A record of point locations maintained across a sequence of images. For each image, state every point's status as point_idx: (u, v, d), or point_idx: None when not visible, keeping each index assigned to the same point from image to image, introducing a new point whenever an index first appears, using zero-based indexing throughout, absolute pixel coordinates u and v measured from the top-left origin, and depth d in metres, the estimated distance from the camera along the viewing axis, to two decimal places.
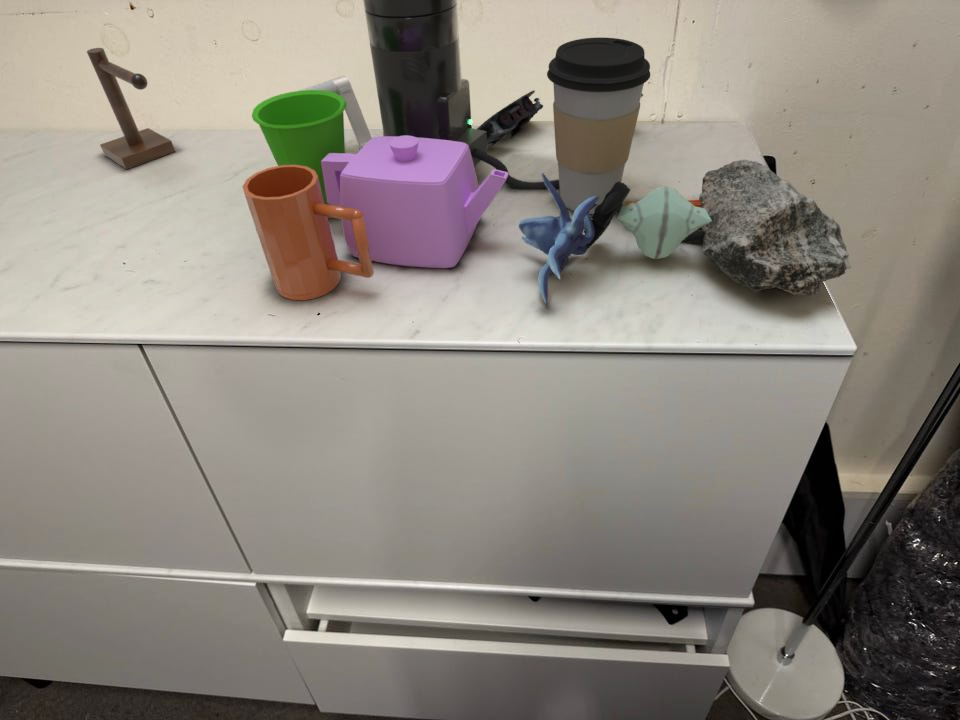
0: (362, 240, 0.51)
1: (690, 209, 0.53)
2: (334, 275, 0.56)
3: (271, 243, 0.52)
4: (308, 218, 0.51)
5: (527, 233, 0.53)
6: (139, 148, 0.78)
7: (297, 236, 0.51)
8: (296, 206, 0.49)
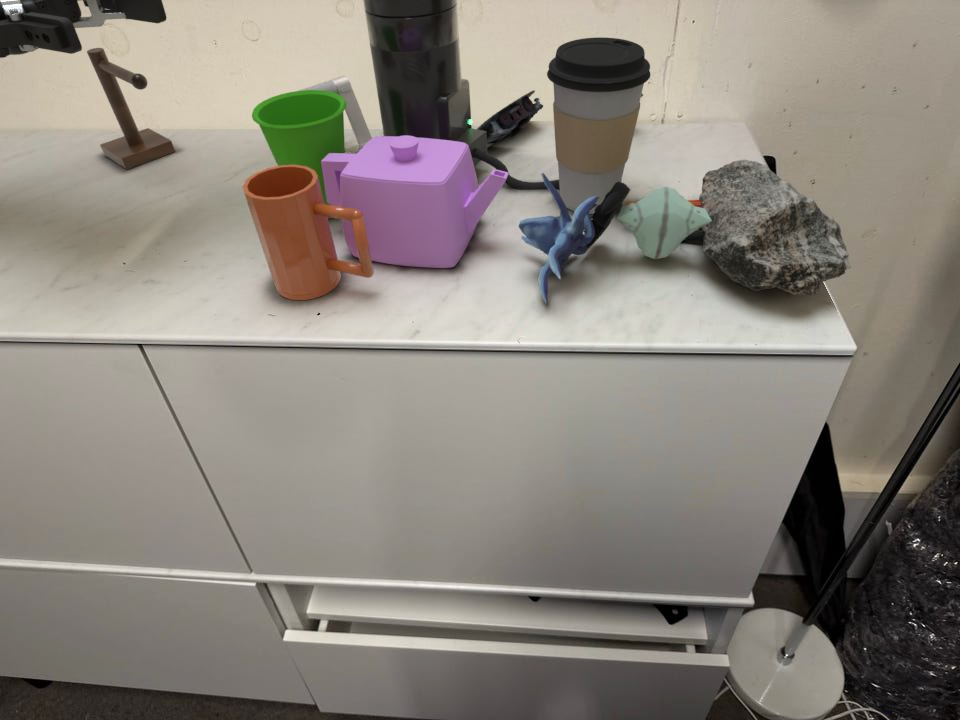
0: (362, 240, 0.51)
1: (690, 209, 0.53)
2: (334, 275, 0.56)
3: (271, 243, 0.52)
4: (308, 218, 0.51)
5: (527, 233, 0.53)
6: (139, 148, 0.78)
7: (297, 236, 0.51)
8: (296, 206, 0.49)
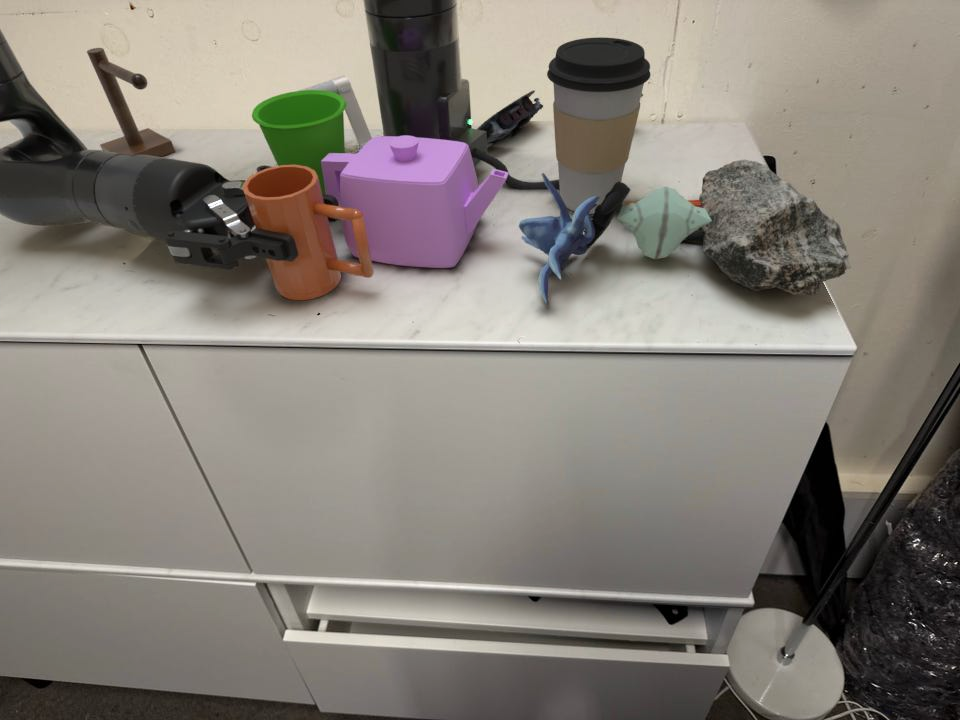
0: (362, 240, 0.51)
1: (690, 209, 0.53)
2: (334, 275, 0.56)
3: None
4: (308, 218, 0.51)
5: (527, 233, 0.53)
6: (139, 148, 0.78)
7: (297, 236, 0.51)
8: (296, 206, 0.49)
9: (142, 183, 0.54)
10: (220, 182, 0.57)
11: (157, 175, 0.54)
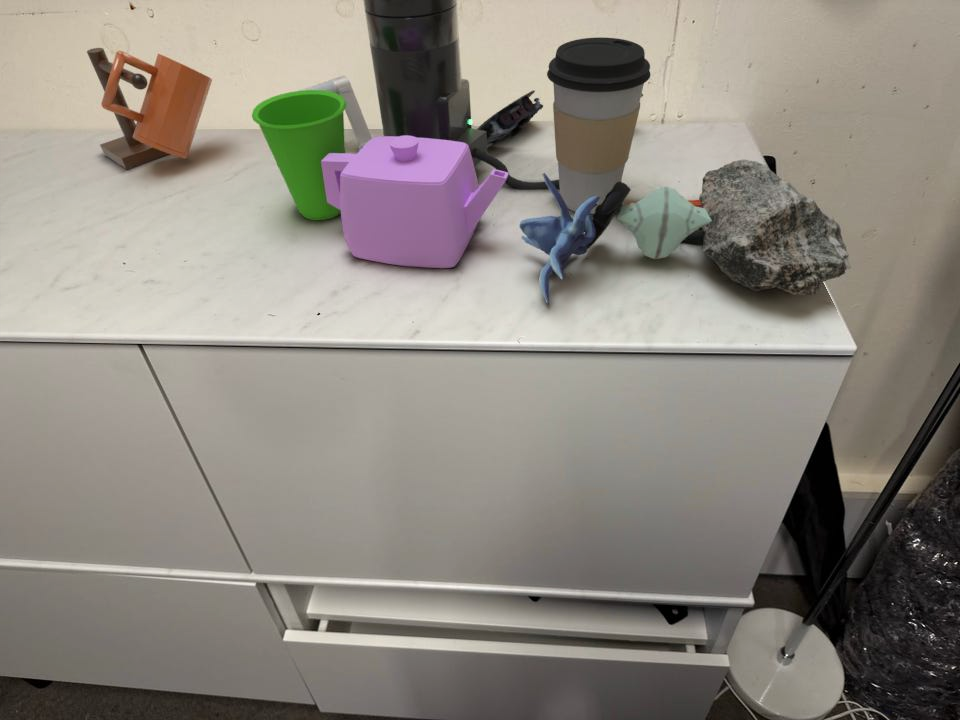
0: (110, 72, 0.68)
1: (690, 209, 0.53)
2: (138, 129, 0.72)
3: None
4: None
5: (528, 233, 0.53)
6: (139, 148, 0.78)
7: None
8: None
9: None
10: None
11: None
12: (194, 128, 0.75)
